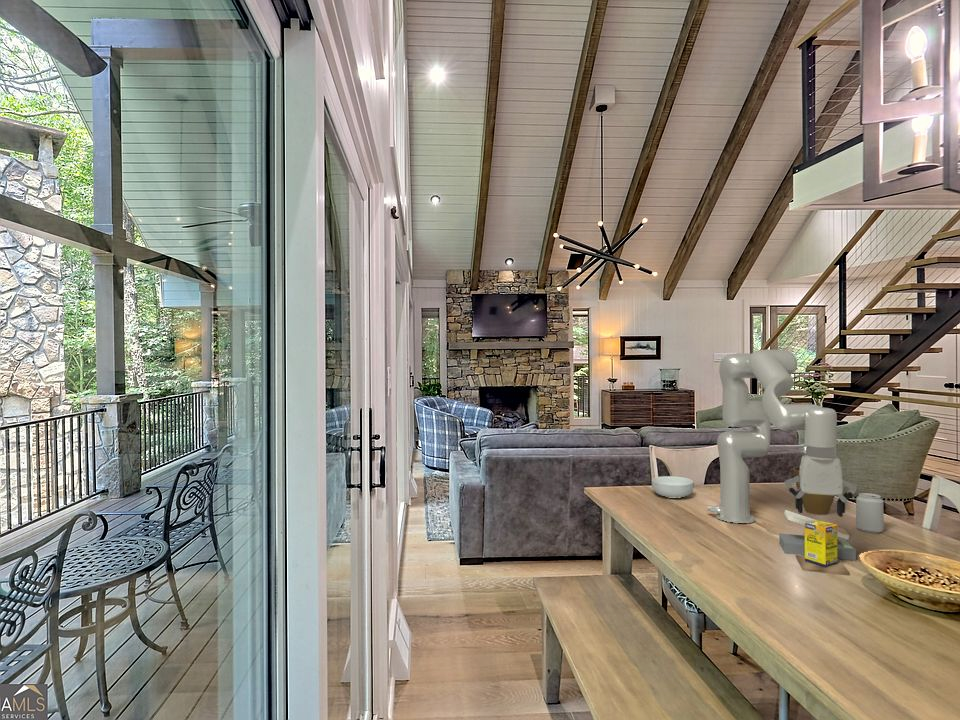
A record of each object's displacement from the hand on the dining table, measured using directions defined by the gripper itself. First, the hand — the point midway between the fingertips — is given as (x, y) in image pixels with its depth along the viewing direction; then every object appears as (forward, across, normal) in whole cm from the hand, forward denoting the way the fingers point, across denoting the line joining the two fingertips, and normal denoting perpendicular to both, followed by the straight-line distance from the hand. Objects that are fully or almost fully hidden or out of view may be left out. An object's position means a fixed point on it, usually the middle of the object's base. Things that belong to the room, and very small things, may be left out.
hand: (819, 513), depth 157 cm
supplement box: (+14, 0, 0) cm, 14 cm away
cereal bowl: (+17, -41, +69) cm, 82 cm away
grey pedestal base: (+14, +1, +12) cm, 19 cm away
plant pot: (+16, +10, +61) cm, 64 cm away
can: (+15, +22, +41) cm, 49 cm away
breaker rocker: (+6, +1, +12) cm, 14 cm away
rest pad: (+14, 0, -1) cm, 14 cm away
